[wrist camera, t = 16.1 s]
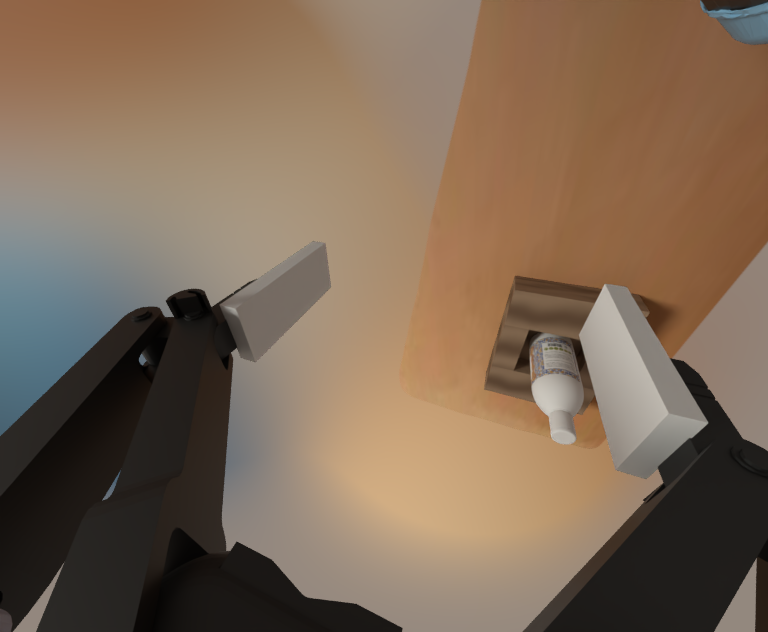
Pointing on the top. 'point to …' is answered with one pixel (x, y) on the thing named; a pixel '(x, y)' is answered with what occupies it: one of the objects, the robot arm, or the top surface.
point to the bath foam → (556, 383)
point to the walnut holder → (540, 314)
